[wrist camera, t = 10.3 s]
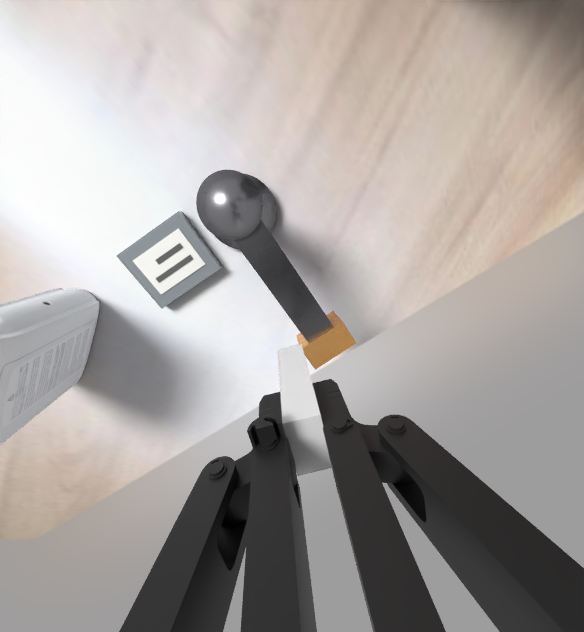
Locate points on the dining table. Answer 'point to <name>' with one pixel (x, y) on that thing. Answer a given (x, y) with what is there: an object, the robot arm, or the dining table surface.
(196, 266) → the label tile
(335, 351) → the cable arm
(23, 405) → the photo printer
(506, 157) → the dining table surface
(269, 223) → the round-base stand
